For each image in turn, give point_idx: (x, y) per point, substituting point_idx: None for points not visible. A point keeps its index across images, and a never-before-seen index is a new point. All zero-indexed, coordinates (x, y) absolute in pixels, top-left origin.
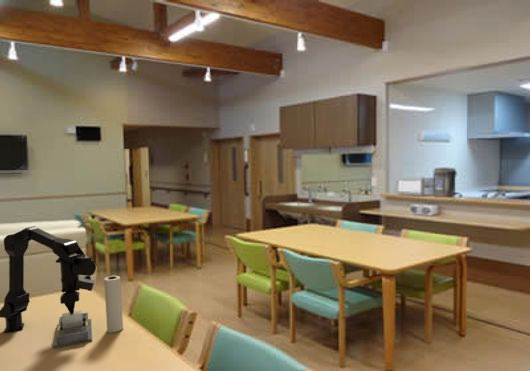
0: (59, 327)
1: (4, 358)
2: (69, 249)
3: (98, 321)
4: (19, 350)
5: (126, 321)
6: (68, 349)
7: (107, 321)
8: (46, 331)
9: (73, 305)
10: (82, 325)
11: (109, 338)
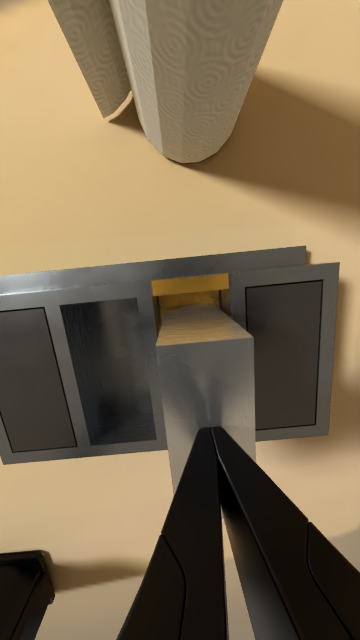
0: None
1: None
2: None
3: (15, 233)
4: None
5: None
6: (336, 349)
7: (224, 105)
8: (85, 466)
9: (319, 550)
10: (220, 310)
11: (307, 145)
